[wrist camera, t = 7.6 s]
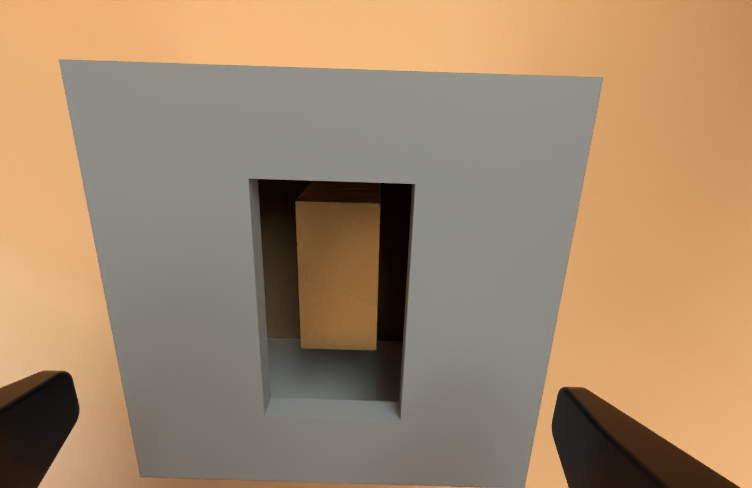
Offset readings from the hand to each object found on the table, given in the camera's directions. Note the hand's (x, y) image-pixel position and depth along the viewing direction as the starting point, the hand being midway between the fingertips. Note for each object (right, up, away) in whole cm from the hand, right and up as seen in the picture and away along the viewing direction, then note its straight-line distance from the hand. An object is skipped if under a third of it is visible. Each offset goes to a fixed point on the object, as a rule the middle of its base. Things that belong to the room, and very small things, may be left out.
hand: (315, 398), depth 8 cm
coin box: (0, +3, +10) cm, 11 cm away
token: (0, +3, +10) cm, 11 cm away
